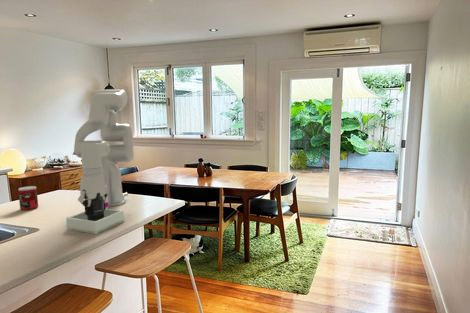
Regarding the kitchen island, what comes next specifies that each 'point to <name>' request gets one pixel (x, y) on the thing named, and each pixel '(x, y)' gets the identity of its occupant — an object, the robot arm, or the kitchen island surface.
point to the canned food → (28, 198)
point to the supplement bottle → (96, 208)
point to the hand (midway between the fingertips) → (95, 212)
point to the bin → (95, 222)
